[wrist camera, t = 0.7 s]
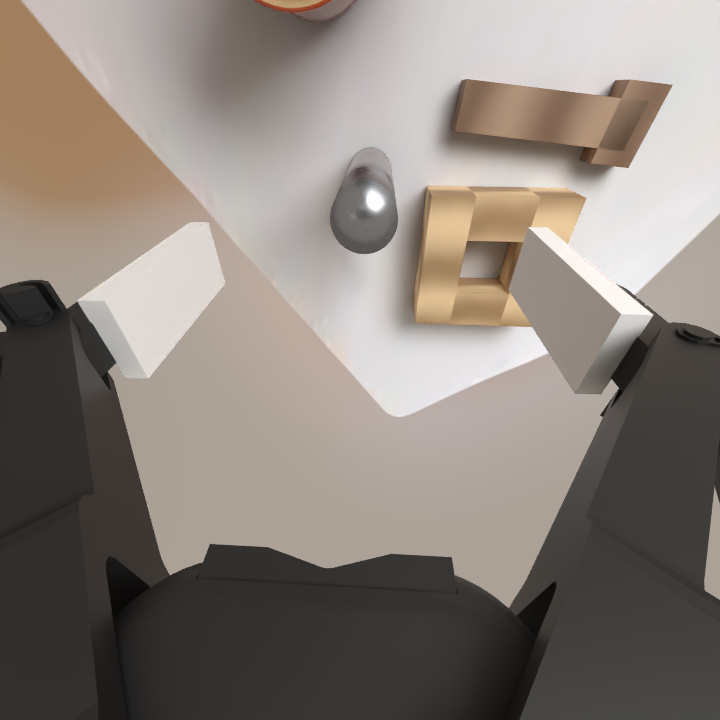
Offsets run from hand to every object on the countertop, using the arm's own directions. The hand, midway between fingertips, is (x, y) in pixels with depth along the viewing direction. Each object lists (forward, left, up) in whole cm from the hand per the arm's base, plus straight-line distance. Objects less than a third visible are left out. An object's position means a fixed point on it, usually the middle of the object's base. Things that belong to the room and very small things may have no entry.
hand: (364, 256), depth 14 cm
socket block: (+7, +11, -18) cm, 22 cm away
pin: (0, 0, -18) cm, 19 cm away
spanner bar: (-4, +13, -19) cm, 23 cm away
